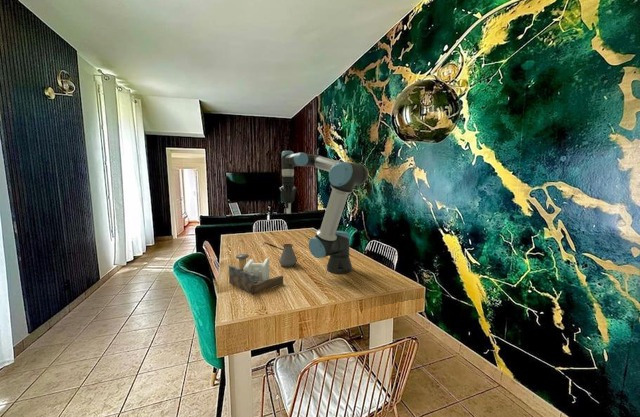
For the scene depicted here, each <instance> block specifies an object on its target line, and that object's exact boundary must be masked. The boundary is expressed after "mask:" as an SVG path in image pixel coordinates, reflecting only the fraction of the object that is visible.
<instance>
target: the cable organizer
mask: <svg viewBox="0 0 640 417" xmlns="http://www.w3.org/2000/svg"><path fill="white" fill-rule="evenodd" d="M243 271H247V272H249V273H252V274H254V275H255V282H258V283H259V282H262V281H265V280H269V279H270V258H269V257H268V258H265V259H264V261H263V262H255V259H254V258H249V260H248V261H246V265H245V266H244V268H243Z"/></svg>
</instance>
